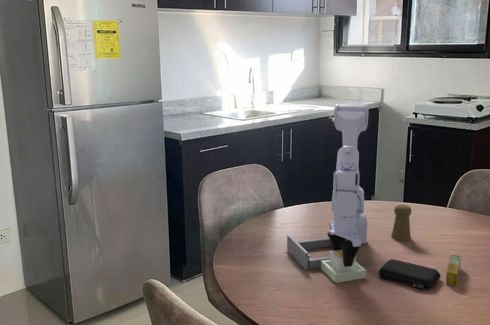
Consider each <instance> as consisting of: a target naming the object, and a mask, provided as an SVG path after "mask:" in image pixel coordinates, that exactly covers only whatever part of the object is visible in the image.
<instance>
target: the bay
mask: <svg viewBox="0 0 490 325" xmlns="http://www.w3.org/2000/svg"><path fill="white" fill-rule="evenodd" d="M320 270H322V272H324V273H325V275H327V276H328V277H329V278H330V279H331V280H332V281H333V282H334V283H336V284H339V283H343V282H350V281H356V280H362V279H366V278H367V269H365V268H364V266H362V265H361V264H359V263H358V262H357V261H356V264H355V270H354V271H348V272H341V273H336V272H335V271H334V270H333V269H332V268H331V267H330V260H324V261H321V268H320Z"/></svg>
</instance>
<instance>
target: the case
mask: <svg viewBox="0 0 490 325" xmlns="http://www.w3.org/2000/svg"><path fill="white" fill-rule="evenodd" d="M286 243H287V244H286V251H287V252H288V254H290V256H292V257H293V259H294V260H295V261H296V262H297V263H298V264H299V265H300V266H301V267H302V268H303V269H304V270H305V271H306V270H314V269H321V261H324V260H330V256H324V257H317V258H312V257H311V255H310V254H309V252H308V251H307V250H312V249H320V248H326V247H332V244H331V241H330V239H329V237H326V238H323V237H322V238H315V239H308V240H300V241H297V240H296V239H295V238H294V237H293V236H292V235H291V234H287V235H286Z"/></svg>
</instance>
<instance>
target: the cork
mask: <svg viewBox="0 0 490 325" xmlns="http://www.w3.org/2000/svg"><path fill="white" fill-rule="evenodd" d="M393 211H394V215H395V217H394V222H393V228H392V231H391V236H390V237H391V239H392V240H394V241H398V242H408V241H411V239H412V237H411V224H410V216H411V214H412V208H411V206H409V205H408V204H403V203H402V204H397V205H396V206H394V210H393Z"/></svg>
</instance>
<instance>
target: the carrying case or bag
mask: <svg viewBox="0 0 490 325" xmlns="http://www.w3.org/2000/svg"><path fill="white" fill-rule="evenodd" d="M377 273H378V275H379V276H380V277H381V278H382V279H386V280H389V281H392V282H395V283H400V284H402V285H403V284H404V285H407V286H411V287H413V288H418V289H422V290H428V291H429V290H432V288H434V287H435V286H436V284H438V281H439V280H440V279H441V277H442V276H441V273H440V272H439V271H438V270H437V269H434V268H432V267H427V266H425V265H424V266H423V265H419V264H415V263H411V262H407V261H403V260H398V259H393V258H391V259H389V260H387V261H385V263H384V264H383V265H382V266H380V268H379V269H378V270H377Z"/></svg>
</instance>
